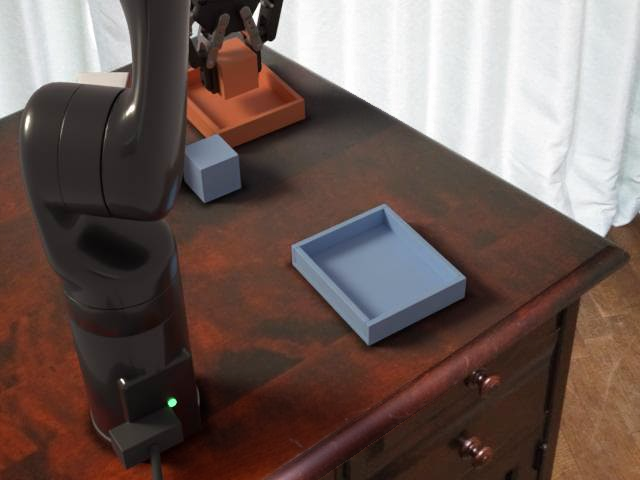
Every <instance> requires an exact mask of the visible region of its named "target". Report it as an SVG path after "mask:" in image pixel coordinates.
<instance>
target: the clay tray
mask: <svg viewBox="0 0 640 480" xmlns="http://www.w3.org/2000/svg"><path fill="white" fill-rule="evenodd" d="M261 64H262V69H261V72H259V77H258V81H259V88H256V89H253V90H251V91H248V92H246V93H243V94H240V95H238V96H235V97H233V98H230V99H227V100H224V99H223V98H222V97H221V96H220V95H219V94H218V93H216V94H212V93H211V92H210V91H208V90H207V89H206V88H205V87H204V86H203V85H202V84H201V80H200V71H199V68H197V69H193V68H192V67H188V94H187V121H189V122H190V123H191V124H192V125H193V126H194V127H195V128H196V129H197V130H198V131H199V133H201V134H202V136H204V137H205V138H208V137H210V136H213V135H215V134H218V135H219V136H220V137H221V138H222V139H223V140H224V141H225V142H226V143H227V144H228V145H229V146H230V147H231V148H232V149H233V148H235V147H237V146H240V145H243V144H245V143H248V142H250V141H252V140H256V139H258V138H260V137H263V136H265V135H268V134H270V133H273V132H275V131H277V130H280V129H282V128H285V127H288V126H289V125H293V124H295V123H297V122H300V121H303V120H305V119H306V105H305V104H306V103H305V102H306V101H305V99H304V98H303V97H302V96H301V95H299V93H297V92H296V91H295V90H294V89H293V88H292V87H290V85H288V84H287V83H286V82H285V81H284V80H283V79H282V78H280V76H278V75H277V74H276V73H275V72H274V71H273V70H272V69H270V68H269V67H268V66H267V65H266V64H265V63H264V62H262V63H261Z"/></svg>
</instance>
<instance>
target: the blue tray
mask: <svg viewBox="0 0 640 480" xmlns="http://www.w3.org/2000/svg"><path fill="white" fill-rule="evenodd" d="M291 261H292V266H293V267H294V268H295V269H296V270H297V271H298V272H299V273H300V275H302V276H303V277H304V278H305V280H306V281H307V282H308V283H309V284H310V285H311V286H312V288H314V289H315V290H316V291H317V293H318V294H320V296H321V297H322V298H323V299H324V300H325V301H326V302H327V303H328V304H329V305H330V306H331V307H332V308H333V310H334V311H335V312H336V313H337V314H338V315H339V316H340V317H341V318H342V320H344V321H345V322H346V323H347V324H348V326H350V328H351V329H352V330H353V331H354V332H355V333H356V334H357V335H358V336H359V337H360V338H361V340H362V341H364V343H365V344H366V345H367V346H368V347H369V346H372V345H374V344H376V343H377V342H380V341H381V340H383V339H385V338H388V337H389V336H391V335H392V334H395V333H397V332H399V331H401V330H403V329H404V328H405V329H406V328H407V327H409V326H411V325H413V324H415V323H417V322H419V321H421V320H423V319H425V318H427V317H428V316H431V315H433V314H434V313H436V312H438V311H441V310H442V309H444V308H446V307H449V306H451V305H453V304H454V303H456V302H458V301H461V300H462V299H464V298H465V296H466V285H467V277H466V276H465V275H464V274H463V273H462V272H461V271H460V270H459V269H457V268H456V267H455V266H454V265H453V264H452V263H451V262H450V261H449V260H448V259H446V258H445V257H444V256H443V254H441V253H440V252H439V251H438V250H437V249H436V248H435V247H433V246H432V244H430V243H429V242H428V241H427V240H426V239H424V238H423V237H422V236H421V235H420V233H418V232H417V231H416V230H415V229H414V228H413V227H412V226H410V225H409V224H408V223H407V222H406V221H405V220H404V219H402V217H401V216H400V215H398V214H397V213H396V212H395V211H394V210H393V209H392V208H391V207H390V206H389V205H388V204H386V203H383V204H380V205H378V206H376V207H374V208H371V209H369V210H367V211H365V212H362V213H360V214H358V215H356V216H353V217H352V218H349V219H347V220H344V221H343V222H340V223H338V224H336V225H333V226H331V227H330V228H327V229H325V230H323V231H320V232H318V233H316V234H313V235H311V236H309V237H307V238H305V239H302V240H300V241H298V242H296V243H294V244H292V245H291Z"/></svg>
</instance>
